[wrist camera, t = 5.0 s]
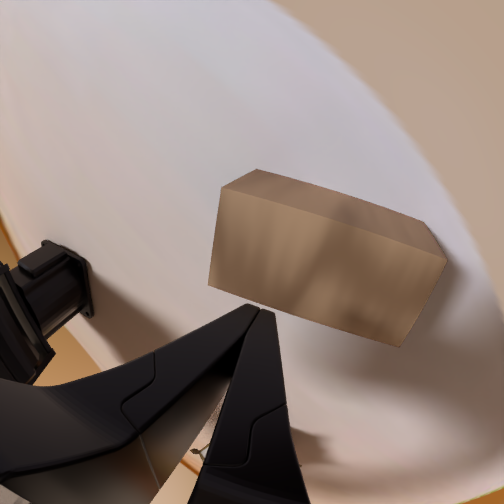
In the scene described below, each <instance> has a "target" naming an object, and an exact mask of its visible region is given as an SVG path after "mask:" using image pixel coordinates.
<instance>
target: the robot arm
mask: <svg viewBox="0 0 504 504" xmlns="http://www.w3.org/2000/svg"><path fill="white" fill-rule="evenodd" d="M41 246H42V247H41V248H39V249H37V250H35V251H34V252H32V253H30V254H28V255H27V256H25V257H23V258H22V259H20V260H19V261H18V266H17V267H15V268H14V269H12V270H10V271H9V269H10V268H9V266H8V264H5V265H3V263H2V262H1V261H0V504H150V503H151V501H152V500H153V498H154V497H155V496H156V494H157V493H158V491H159V489H161V487H162V486H163V485H164V483H165V482H166V480H167V479H168V478H169V476H170V475H171V473H172V472H173V471H174V469H175V467H176V466H177V465H178V463H179V462H180V461H181V459H182V458H183V456H184V455H185V453H186V452H187V450H188V449H189V447H190V446H191V444H192V443H193V442H194V440H195V439H196V437H197V436H198V434H199V433H200V431H201V430H202V428H203V427H204V425H205V424H206V422H207V420H208V419H209V417H210V416H211V414H212V413H213V411H214V410H215V408H216V407H217V405H218V403H219V402H220V400H221V399H222V397H223V396H224V394H225V393H226V391H227V393H226V396H225V399H224V402H223V405H222V408H221V411H220V414H219V417H218V420H217V423H216V426H215V429H214V432H213V435H212V438H211V441H210V444H209V447H208V450H207V453H206V456H205V459H204V462H203V466H202V467H201V470H200V473H199V476H198V479H197V481H196V484H195V487H194V489H193V492H192V494H191V496H190V498H189V501H188V503H187V504H311V503H310V500H309V497H308V494H307V490H306V487H305V483H304V480H303V476H302V473H301V469H300V466H299V462H298V459H297V455H296V452H295V447H294V443H293V439H292V435H291V429H290V422H289V416H288V408H287V405H286V404H287V401H286V393H285V385H284V377H283V369H282V362H281V354H280V346H279V339H278V331H277V324H276V316H275V313H274V312H271V311H268V310H266V309H261V310H260V308H259V307H257V306H254V305H251V304H248V303H247V304H244V305H242V306H240V307H239V308H237V309H235V310H233V311H231V312H229V313H227V314H225V315H223V316H221V317H220V318H218V319H216V320H214V321H212V322H210V323H208V324H206V325H204V326H202V327H200V328H198V329H196V330H194V331H192V332H190V333H188V334H186V335H184V336H182V337H180V338H178V339H176V340H174V341H172V342H170V343H168V344H166V345H164V346H162V347H160V348H158V349H156V350H155V351H154V352H150V353H148V354H146V355H143V356H141V357H139V358H137V359H135V360H132V361H130V362H128V363H125V364H123V365H120V366H118V367H115V368H112V369H109V370H106V371H103V372H100V373H97V374H94V375H91V376H88V377H85V378H81V379H78V380H75V381H71V382H68V383H65V384H61V385H56V386H44V387H43V386H33V384H34V382H35V381H36V380H37V378H38V377H39V376H40V374H41V373H42V372H43V370H44V369H45V367H46V366H47V365H48V363H49V362H50V361H51V360H52V358H53V357H54V356H55V354H56V353H55V351H54V350H53V348H51V347H50V345H49V344H48V342H47V339H48V338H49V337H50V336H51V335H52V334H54V333H55V332H56V331H57V330H58V329H60V328H61V327H62V326H63V325H64V324H66V323H67V322H68V321H69V320H70V319H72V318H73V317H74V316H75V315H76V314H78V313H79V312H80V313H81V314H83V315H84V316H86V317H88V318H92V317H93V316H94V312H93V307H92V301H91V296H90V289H89V283H88V276H87V269H86V263H85V261H84V259H82V258H81V257H79V256H77V255H75V254H73V253H71V252H69V251H67V250H65V249H63V248H61V247H59V246H57V245H55V244H53V243H52V242H50V241H48V240H43V241H42V242H41ZM227 389H228V390H227Z"/></svg>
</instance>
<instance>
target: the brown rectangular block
mask: <svg viewBox="0 0 504 504" xmlns="http://www.w3.org/2000/svg"><path fill="white" fill-rule="evenodd" d="M447 261H448V260H447V258H446V256H445V255H444V253H443V251H442V250H441V248H440V246H439V245H438V243H437V242H436V240H435V238H434V237H433V235H432V234H431V232H430V231H429V229H428V228H427V226H426V225H425V223H424V222H422V221H420V220H417V219H415V218H412V217H409V216H407V215H404V214H401V213H398V212H396V211H393V210H390V209H387V208H385V207H382V206H379V205H376V204H373V203H370V202H367V201H364V200H361V199H358V198H355V197H352V196H349V195H346V194H343V193H340V192H336V191H333V190H330V189H327V188H323V187H320V186H317V185H313V184H310V183H306V182H303V181H299V180H296V179H292V178H289V177H285V176H281V175H278V174H274V173H270V172H266V171H262V170H258V169H255V170H254V171H252V172H250V173H248V174H246V175H244V176H242V177H240V178H238V179H236V180H234V181H233V182H231V183H229V184H227V185H225V186H223V187H222V188H221V194H220V201H219V207H218V214H217V221H216V228H215V235H214V242H213V249H212V256H211V264H210V272H209V279H208V285H209V286H212V287H214V288H217V289H220V290H223V291H225V292H228V293H231V294H234V295H237V296H239V297H242V298H245V299H248V300H251V301H254V302H256V303H259V304H262V305H265V306H268V307H271V308H274V309H277V310H280V311H283V312H286V313H289V314H292V315H295V316H298V317H301V318H304V319H307V320H310V321H313V322H316V323H319V324H323V325H326V326H329V327H332V328H335V329H339V330H342V331H345V332H348V333H352V334H355V335H358V336H362V337H365V338H368V339H372V340H375V341H379V342H382V343H386V344H389V345H393V346H396V347H400V345H401V344H402V342H403V341H404V339H405V338H406V336H407V334H408V333H409V331H410V329H411V328H412V326H413V324H414V323H415V321H416V319H417V318H418V316H419V314H420V313H421V311H422V309H423V307H424V305H425V304H426V302H427V300H428V298H429V296H430V294H431V293H432V291H433V289H434V287H435V285H436V283H437V281H438V279H439V277H440V275H441V273H442V271H443V269H444V267H445V265H446V263H447Z"/></svg>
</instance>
